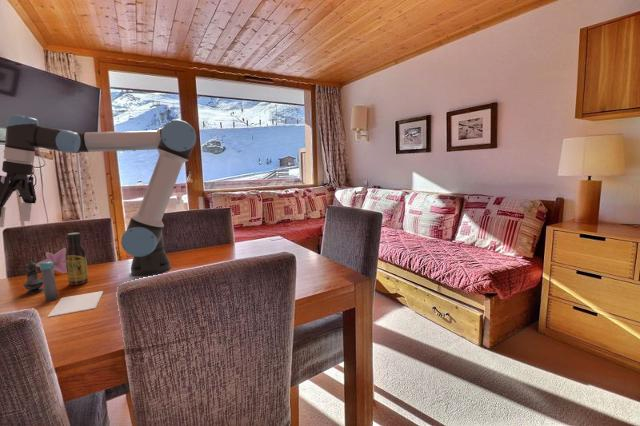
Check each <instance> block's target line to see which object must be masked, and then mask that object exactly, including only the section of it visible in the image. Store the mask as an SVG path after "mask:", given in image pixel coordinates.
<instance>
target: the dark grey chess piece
mask: <svg viewBox="0 0 640 426" xmlns="http://www.w3.org/2000/svg"><path fill="white" fill-rule="evenodd" d="M36 264H37V263H36V262H34V261H32V260H31V259H29V260H28V262H27V263H26V264H25V271H26V272H25V273H24V274H25V275H26V281H25V282H23V284H22V286H23V287H24V288H25V289H26V290H27V291H26V292H25V294H26V295H34V294H38V293H41V292H44V287H43V281H42V278H39V273H38V272H39V270H37V266H36ZM42 287H43V288H42Z"/></svg>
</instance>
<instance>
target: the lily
mask: <svg viewBox="0 0 640 426" xmlns="http://www.w3.org/2000/svg"><path fill="white" fill-rule="evenodd" d="M66 253H67V249H66V247H63V248H62V249H60V250H58V251H57V252H56V253H55V254H54V253H52V252H48V251H46V252H45V257H46V259H43V260H41V261H39V262H37V263H36V268H37V267H38V268H40V265H39V264H40V263H43V262H48V261H52V262H53V270H54V272H55V271H56V272H58V273H60V274H61V273H62V274H64V273H66V274H67V264H66Z"/></svg>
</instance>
